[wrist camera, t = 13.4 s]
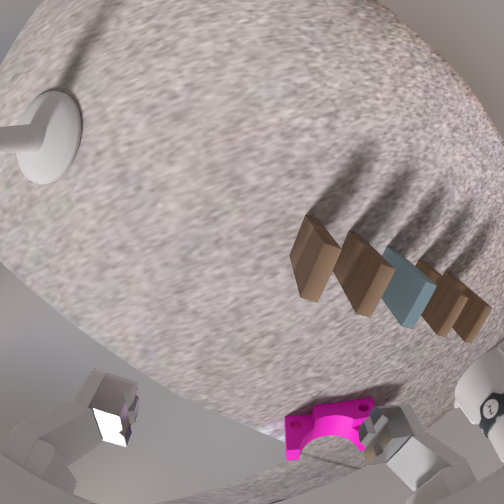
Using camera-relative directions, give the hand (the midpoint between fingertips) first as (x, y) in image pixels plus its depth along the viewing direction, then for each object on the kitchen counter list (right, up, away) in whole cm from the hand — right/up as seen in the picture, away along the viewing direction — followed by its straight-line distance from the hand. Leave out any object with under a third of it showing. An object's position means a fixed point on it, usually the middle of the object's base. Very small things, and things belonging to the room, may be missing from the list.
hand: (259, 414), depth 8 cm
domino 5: (+26, 0, +26) cm, 37 cm away
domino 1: (+6, +7, +24) cm, 26 cm away
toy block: (+13, -23, +35) cm, 43 cm away
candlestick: (-28, +21, +20) cm, 40 cm away
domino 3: (+16, +3, +25) cm, 30 cm away
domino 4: (+21, +2, +25) cm, 33 cm away
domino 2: (+11, +5, +24) cm, 27 cm away
